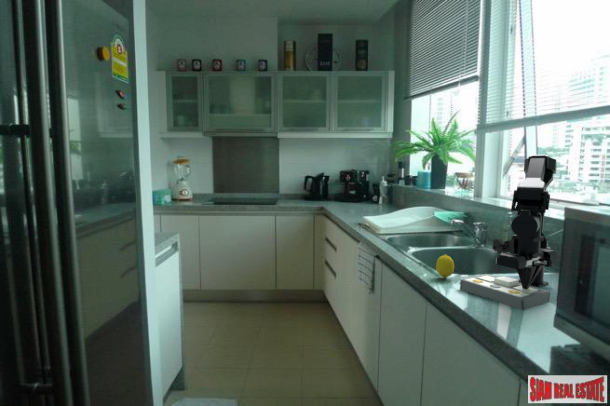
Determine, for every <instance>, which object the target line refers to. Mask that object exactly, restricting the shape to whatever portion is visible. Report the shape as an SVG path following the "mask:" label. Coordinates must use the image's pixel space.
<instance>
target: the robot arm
mask: <svg viewBox="0 0 610 406" xmlns="http://www.w3.org/2000/svg"><path fill="white" fill-rule="evenodd" d="M557 162H558V161H557V159H555V158H553V157H550V156H549V155H548V154H531V155H528V158H525V159H524V163H523V172H524V174H525V177H524V180H522V181H520V182H518V185H517V187H516V188H515V189H513V196H512V200H511V201H512V202H511V209H510V210H511V212H517V214H516V216H515V217H514V218H513V219H512V221H511V225H510V226H511V227H510V228H511V230H512V232H513V234H512V236H511V239H510V240H505V241H504V239H503V238H497V239H493V241H492V247H491V248H492V250H493V251H494V252H496V254H497V256H496V258H495V265H496V266H497V265H498V266H502V267H506V268H510V269H512V270H513V269H514V270H516V272H517V275H518V280H519V283H521V284H522V287H523V288H524V289H528V288H529V287H530V286H533V287H536V288H540V287H543V286H546V285H549V282H548V281H544V280H545V279H544V278H545V267H546V268H549V267H553V262H557V261H558V254H557V252H556V251H555V250H553V249H551V247H549V242H548V240H547V238H546V236H545V235H544V225H545V224H544V223H545V213H546V212H547V211H549V208H550V201H551V194H550V193H549V191H548V189H547V188H548V187H549V186H550V184H551V183H552V182H553V181H554V175H555V174H557Z"/></svg>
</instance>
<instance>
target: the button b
mask: <svg viewBox="0 0 610 406" xmlns="http://www.w3.org/2000/svg"><path fill="white" fill-rule="evenodd" d="M497 277H498V278H494V284H497V285H501V286H504V287H508V288H511V287H515V286H518V283H520V282H519V279H517V278H513V277H509V276H504V275H503V276H497Z"/></svg>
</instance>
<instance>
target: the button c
mask: <svg viewBox="0 0 610 406" xmlns="http://www.w3.org/2000/svg"><path fill="white" fill-rule="evenodd" d="M513 289H515V290H518V291H521V292H525V293H528V294H530V293H534V292H537V291H538V289H534V288H531V287H529V288H528V289H524V288H523V287H522V285H521V286H517V287H513Z"/></svg>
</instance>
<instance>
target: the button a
mask: <svg viewBox="0 0 610 406" xmlns="http://www.w3.org/2000/svg"><path fill="white" fill-rule="evenodd" d="M477 279H480V280H483V281H487V282H490V283H492V282H494V277H490V276H482V277H477Z"/></svg>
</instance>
